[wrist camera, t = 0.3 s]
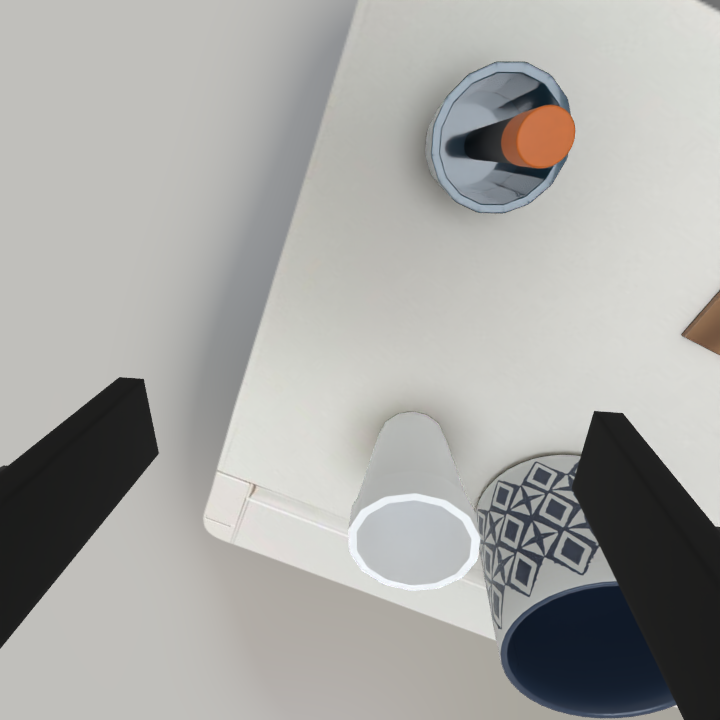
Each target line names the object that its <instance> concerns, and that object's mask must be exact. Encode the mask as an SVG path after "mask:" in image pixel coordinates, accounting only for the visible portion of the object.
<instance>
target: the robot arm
mask: <svg viewBox="0 0 720 720" xmlns="http://www.w3.org/2000/svg"><path fill="white" fill-rule="evenodd" d="M158 453H159V452H158V447H157V442H156V438H155V432H154V427H153V423H152V418H151V413H150V408H149V403H148V398H147V393H146V389H145V383H144V379H135V378H122V377H119V378H118V379H117V380H115V381H114V382H113V383H112V384H110V385H109V386H108V387H106V388H105V389H104V390H103V391H101V392H100V393H99V394H98V395H96V396H95V397H94V398H93V399H91V400H90V401H89V402H88V403H87V404H85V405H84V406H83V407H81V408H80V409H79V410H78V411H76V412H75V413H74V414H73V415H71V416H70V417H69V418H68V419H66V420H65V421H64V422H63V423H61V424H60V425H59V426H58V427H57V428H55V429H54V430H53V431H51V432H50V433H49V434H48V435H46V436H45V437H44V438H43V439H41V440H40V441H39V442H37V443H36V444H35V445H34V446H32V447H31V448H30V449H29V450H27V451H26V452H25V453H24V454H23V455H21V456H20V457H19V458H18V459H16V460H15V461H14V462H12V463H11V464H10V465H9V466H2V467H0V648H1V647H2V646H3V645H4V643H5V642H6V641H7V640H8V639H9V637H10V636H11V635H12V634H13V632H14V631H15V630H16V629H17V627H18V626H19V625H20V624H21V623H22V621H23V620H24V619H25V618H26V616H27V615H28V614H29V613H30V611H31V610H32V609H33V608H34V607H35V605H36V604H37V603H38V602H39V600H40V599H41V598H42V597H43V595H44V594H45V593H46V592H47V591H48V589H49V588H50V587H51V585H52V584H53V583H54V582H55V581H56V579H57V578H58V577H59V576H60V575H61V573H62V572H63V571H64V570H65V568H66V567H67V566H68V565H69V563H70V562H71V561H72V560H73V558H74V557H75V556H76V555H77V553H78V552H79V551H80V550H81V549H82V547H83V546H84V545H85V544H86V542H87V541H88V540H89V539H90V537H91V536H92V535H93V534H94V533H95V531H96V530H97V529H98V528H99V526H100V525H101V524H102V523H103V521H104V520H105V519H106V518H107V517H108V515H109V514H110V513H111V512H112V510H113V509H114V508H115V507H116V506H117V504H118V503H119V502H120V501H121V499H122V498H123V497H124V496H125V494H126V493H127V492H128V491H129V490H130V488H131V487H132V486H133V485H134V483H135V482H136V481H137V480H138V478H139V477H140V476H141V475H142V474H143V472H144V471H145V470H146V468H147V467H148V466H149V465H150V464H151V462H152V461H153V460H154V459H155V457H156V456H157V455H158ZM572 490H573V492H574V494H575V496H576V498H577V500H578V503H579V505H580V507H581V509H582V511H583V513H584V515H585V517H586V519H587V521H588V523H589V525H590V527H591V529H592V531H593V533H594V535H595V538H596V540H597V542H598V544H599V546H600V548H601V550H602V552H603V554H604V556H605V558H606V560H607V562H608V564H609V566H610V568H611V570H612V573H613V575H614V577H615V579H616V581H617V583H618V585H619V587H620V589H621V591H622V593H623V595H624V597H625V599H626V601H627V603H628V605H629V608H630V610H631V612H632V614H633V616H634V618H635V620H636V622H637V624H638V626H639V628H640V630H641V632H642V634H643V636H644V638H645V640H646V643H647V645H648V647H649V649H650V651H651V653H652V655H653V657H654V659H655V661H656V663H657V665H658V667H659V669H660V671H661V673H662V675H663V678H664V680H665V682H666V684H667V686H668V688H669V690H670V692H671V694H672V696H673V698H674V700H675V702H676V704H677V706H678V708H679V710H680V713H681V715H682V717H683V719H684V720H720V527H715V526H714V524H713V523H712V522H711V521H710V520H709V518H708V517H707V516H706V515H705V513H704V512H703V511H702V510H701V509H700V507H699V506H698V505H697V504H696V502H695V501H694V500H693V499H692V498H691V496H690V495H689V494H688V493H687V491H686V490H685V489H684V488H683V486H682V485H681V484H680V483H679V482H678V480H677V479H676V478H675V477H674V475H673V474H672V473H671V472H670V471H669V469H668V468H667V467H666V466H665V464H664V463H663V462H662V461H661V460H660V458H659V457H658V456H657V455H656V453H655V452H654V451H653V450H652V449H651V447H650V446H649V445H648V444H647V442H646V441H645V440H644V439H643V437H642V436H641V435H640V434H639V433H638V431H637V430H636V429H635V428H634V426H633V425H632V424H631V423H630V422H629V420H628V419H627V418H626V417H625V415H624V414H623V413H613V412H599V411H594V414H593V417H592V420H591V424H590V427H589V430H588V434H587V437H586V441H585V444H584V447H583V451H582V454H581V457H580V461H579V464H578V468H577V471H576V474H575V478H574V481H573V484H572Z"/></svg>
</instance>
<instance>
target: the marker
mask: <svg viewBox="0 0 720 720" xmlns="http://www.w3.org/2000/svg"><path fill="white" fill-rule="evenodd" d="M574 138H575V125H574V121H573V119H572V117H571V115H570V114H569V113H568V112H567V111H566V110H565V109H564V108H562V107H560V106H556V105H545V106H541V107H538V108H535V109H532V110H529V111H526V112H523V113H520V114H518V115H517V116H515V117H512V118H509V119H506V120H503V121H500V122H497V123H494V124H491V125H488V126H485V127H481V128H478V129H475V130H473V131H472V132H470V133H469V134H468V136H467V137H466V140H465V143H464V149H465V152H466V154H467V155H468V157H470V158H471V159H474V160H482V161H490V162H499V163H508V164H514V165H517V166H523V167H531V168H548V167H551V166H553V165H555V164H557V163H558V162H560V161H561V160H562V159H563V158H564V157H565V156H566V155H567V154H568V152H569V151H570V149H571V147H572V145H573V142H574Z"/></svg>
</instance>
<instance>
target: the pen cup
mask: <svg viewBox="0 0 720 720" xmlns="http://www.w3.org/2000/svg"><path fill="white" fill-rule="evenodd" d="M545 105H556V106H560V107H562V108H564V109H565V110H566V111H567V112H568V113H569V114H570V108H569V103H568V99H567V97H566V95H565V94H564V92H563V91H562V90H561V88H560V87H559V85H558V84H557V83H556V81H555V80H554V78H553V77H552V76H551V75H550V74H548V73H547V72H545V71H543V70H541V69H539V68H537V67H535V66H533V65H531V64H529V63H527V62H494V63H492V64H490V65H488V66H485V67H483V68H481V69H479V70H477V71H474V72H472V73H470V74H469V75H467V76H466V77H465V78H464V79H463V80H462V81H461V82H460V83H459V84H458V85H457V86H456V87H455V88H454V89H453V90H452V91H451V92H450V93H449V95H448V96H447V97H446V98H445V99H444V101H443V102H442V104H441V105H440V106H439V108H438V109H437V111H436V113H435V115H434V117H433V119H432V121H431V124H430V126H429V128H428V131H427V137H426V151H425V155H426V159H427V163H428V166H429V169H430V172H431V175H432V177H433V178H434V179H435V180H436V181H437V183H438V184H439V185H440V186H441V187H442V189H443V190H444V191H445V192H446V193H447V194H448V195H449V196H450V197H451V198H452V199H453V200H454V201H455V202H457V203H459V204H461V205H463V206H465V207H467V208H469V209H471V210H473V211H475V212H478V213H506V212H509V211H512V210H514V209H517V208H520V207H522V206H525V205H528V204H529V203H531V202H532V201H533V200H534V199H536V198H537V197H538V196H539V195H540V194H542V193H543V192H544V191H545V190H546V189H547V188H549V187H550V186H551V184H552V183H553V182H554V180H555V178H556V177H557V175H558V173H559V172H560V170H561V168H562V166H563V165H564V163H565V161H566V160H567V157H568V154H567V155H566V156H565V157H564V158H563V159H562V160H561V161H560V162H558V163H557V164H555V165H553V166H551V167H548V168H531V167H523V166H517V165H514V164H508V163H499V162H490V161H482V160H474V159H471V158H470V157H468V155H467V154H466V152H465V149H464V143H465V140H466V137H467V136H468V134H469V133H470V132H472V131H473V130H475V129H478V128H481V127H485V126H488V125H491V124H494V123H497V122H500V121H503V120H506V119H509V118H512V117H515V116H517V115H518V114H520V113H523V112H526V111H529V110H532V109H535V108H538V107H541V106H545ZM570 115H571V114H570Z"/></svg>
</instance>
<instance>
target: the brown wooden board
mask: <svg viewBox="0 0 720 720" xmlns="http://www.w3.org/2000/svg"><path fill="white" fill-rule="evenodd" d="M682 336H684V337H686V338H687V339H689V340H691V341H693V342H695V343H697V344H699V345H701V346H703V347H705V348H707V349H709V350H711V351H713V352H715V353H717V354H719V355H720V291H719V292H718V294H717V295H716V296H715V297H714V298H713V299H712V300H711V302H710V303H709V304H708V305H707V306H706V307H705V308H704V310H703V311H702V312H701V313H700V314H699V315H698V316H697V318H696V319H695V320H694V321H693V322H692V323H691V324H690V326H689V327H688V328H687V329H686V330H685V331H684V333H683V334H682Z"/></svg>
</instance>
